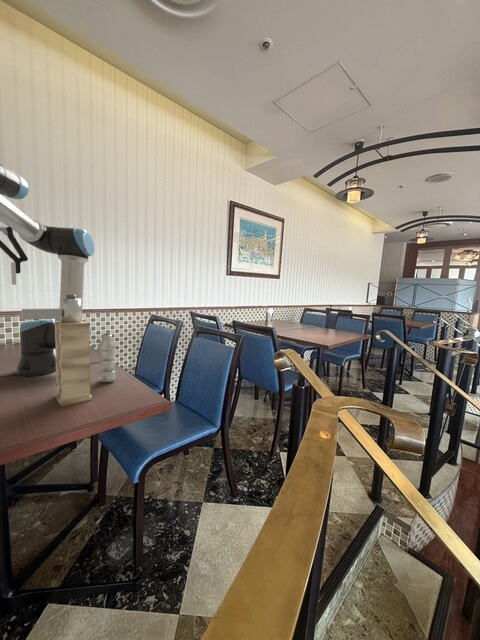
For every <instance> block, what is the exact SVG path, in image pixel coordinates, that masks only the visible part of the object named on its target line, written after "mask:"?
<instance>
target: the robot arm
mask: <svg viewBox="0 0 480 640" xmlns="http://www.w3.org/2000/svg"><path fill="white" fill-rule="evenodd" d="M29 190H30V189H29V185H28V182H27V181H26V180H25V178H23V177H22V176H20V175H19V174H18V173H17V172H15V171H13V170H11V169H9V168H8V167H6V166H5V165H2V164H1V163H0V223H2V224H4V225H5V226H6V227H5V226H0V232H2V233H3V235H5V236H6V237H7V239H8V241H10V243H11V245H12V246H13V248H14V249H15V251H16V253H17V254H18V256H17V255H16V254H15V253H14V252H13V251H12V250H11V249H10V248H9V246H7V245H6V244H5V243H4V242H3V241H2V240H1V239H0V249H1V250H2V251H3V252H4V253H5V254H6V255H7V256H8V257H9V258H10V259H11V260H12V261H11V262H10V271H11V273H10V275H11V277H10V278H11V285H13V286H17V274H21V263H23V262H27V261H28V260H29V258H28V256H27V254H26V253H25V251H24V250H23V248H22V247H21V245H20V244H19V242H18V240H17V238H16V237H15V235H14V232H15V233H17V235H18V236H19V238H20V239H21V240H23V241H24V242H26V243H27V244H29V245H30V246H33V247H34V248H36V249H38V250H40V251H43V252H45V253H49V254H53V255H57V259H59V260H60V261H61V267H60V270H61V271H60V293H59V294H60V295H59V309H61V298H66V295H76V298H80V299H82V304H84V303H83V300H84V299H83V298H84V274H85V264H86V263H87V262H88V261H89V257H92V256H93V255H94V252H95V244H94V241H93V237H92V236H91V234H90V232H89V231H87V230H86V229H82V228H77V227H57V226H50V225H49V226H48V225H44V224H41V222H39V221H38V220H33V219H32V218H30V217H29V216H28V215H26V213H24V212H23V211H21V210H20V209H19V208H18V207H17V206H15V205H14V204H13V203H12V202H11V201H9V200H8V199H7V198H10V199H14V200H22V199H25V197H27V195H28V194H29ZM4 196H6V197H7V198H6V197H4ZM82 320H83V321H85V322H87V321H86V320H87V319H86V318H84V316H82ZM55 321H61V318H59V319H34V320H29V321H24V322H22V323H20V326H19V341H20V357H19V360H18V362H17V367H16V370H15V371H16V375H17V376H20V377H36V376H43V375H44V376H45V375H49V374H53V373H56V354H55V351H54V350H55ZM91 330H92V329H91V326H90V325H89V340H90V339H91V335H92V334H91V332H92V331H91Z"/></svg>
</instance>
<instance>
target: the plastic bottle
mask: <svg viewBox="0 0 480 640" xmlns="http://www.w3.org/2000/svg"><path fill="white" fill-rule="evenodd" d="M112 339H113V334H111V333H102V334H101V341H100V343H98V345H97V351H98V355H99V357H98V359H99V370H98V375H97V376H98V381H99V382H101V383H111V382H114V381H115V380H116V377H117V374H116V370H115V354H116V345H115V343H114V341H113V340H112Z"/></svg>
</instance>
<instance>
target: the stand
mask: <svg viewBox="0 0 480 640" xmlns="http://www.w3.org/2000/svg"><path fill="white" fill-rule="evenodd" d="M54 323H55V349H54V350H55V351H54V354H55V357H56V371H55V378H56V379H55V380H56V381H55V385H56V386H55V387H56V392H54V397H55V398H56V401H57V402H58V403H59V405H60V407H65V406H66V407H67V406H69V405H75V404H79V403H84V402H88V401H92V400H93V395H92V394H91V372H90V370H91V369H90V367H91V365H90V363H91V362H90V354H91V353H90V339H89V326H90V322H88V321H86V322H85V321H83V320H82V322H80V323H62V322H61V321H55V320H54Z"/></svg>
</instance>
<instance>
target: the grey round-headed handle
mask: <svg viewBox="0 0 480 640" xmlns="http://www.w3.org/2000/svg"><path fill="white" fill-rule="evenodd" d="M82 317H83V303H82V299H80V298H76V295H66V298H61V309H60V308H21V319H22V320H23V321H24V320H45V319H52V320H55V319H59V318H61V322H62V323H80V322H82Z"/></svg>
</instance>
